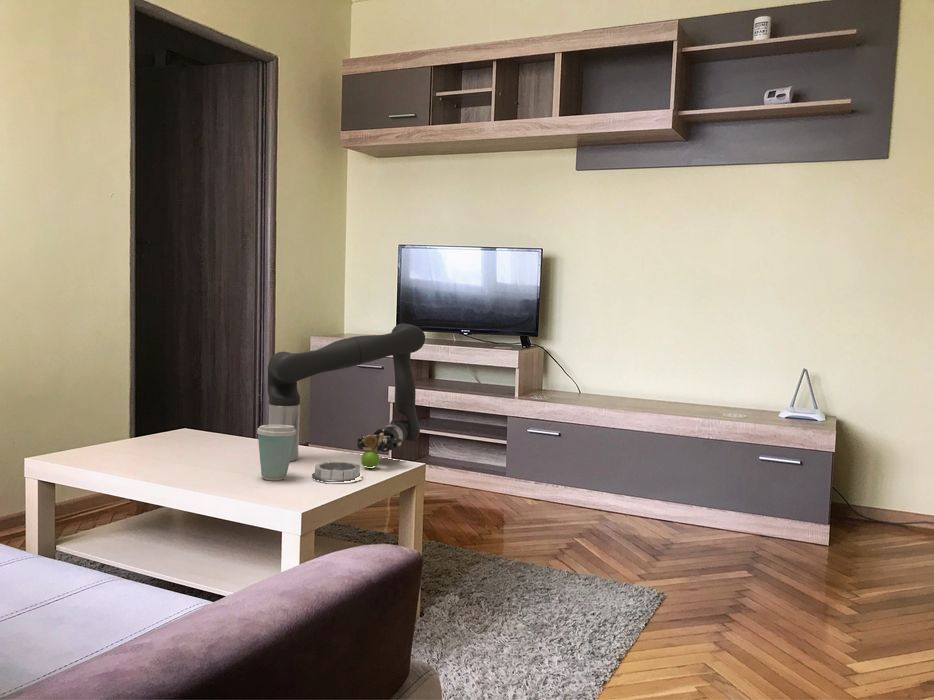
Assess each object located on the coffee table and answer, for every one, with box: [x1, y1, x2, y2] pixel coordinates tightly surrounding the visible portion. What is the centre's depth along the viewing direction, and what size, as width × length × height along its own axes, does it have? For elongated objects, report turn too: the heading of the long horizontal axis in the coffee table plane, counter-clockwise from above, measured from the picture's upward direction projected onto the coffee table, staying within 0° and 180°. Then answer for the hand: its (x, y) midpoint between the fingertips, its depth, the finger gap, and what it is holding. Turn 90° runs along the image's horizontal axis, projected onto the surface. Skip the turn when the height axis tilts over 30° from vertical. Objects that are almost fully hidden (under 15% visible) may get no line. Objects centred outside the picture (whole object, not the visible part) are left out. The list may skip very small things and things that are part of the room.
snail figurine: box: [360, 429, 384, 467], centre depth 225 cm, size 5×6×12 cm
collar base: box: [311, 461, 361, 482], centre depth 212 cm, size 14×14×3 cm
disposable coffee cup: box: [256, 424, 296, 481], centre depth 207 cm, size 11×11×15 cm
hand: (369, 447), depth 222 cm, fingers closed on snail figurine, 5 cm apart
